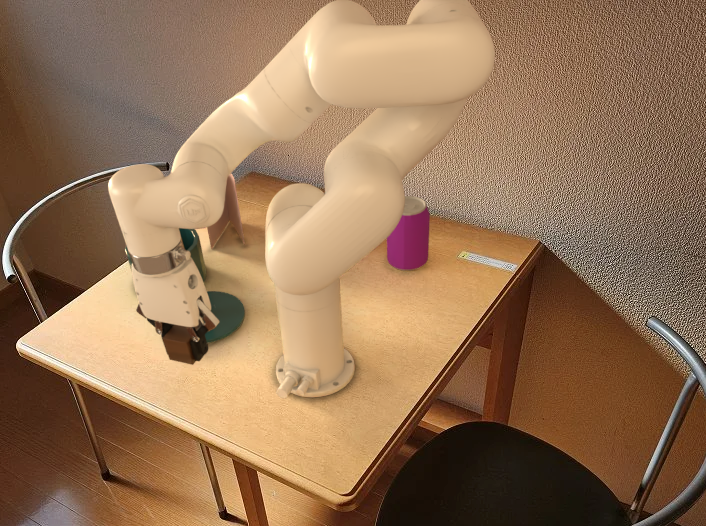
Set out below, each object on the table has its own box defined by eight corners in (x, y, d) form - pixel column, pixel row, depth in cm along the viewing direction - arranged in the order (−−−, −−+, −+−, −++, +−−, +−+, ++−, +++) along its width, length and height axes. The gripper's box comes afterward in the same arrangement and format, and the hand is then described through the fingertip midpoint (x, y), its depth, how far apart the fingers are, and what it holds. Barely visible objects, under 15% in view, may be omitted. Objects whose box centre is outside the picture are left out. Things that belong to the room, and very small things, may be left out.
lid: (220, 354, 124) (213, 322, 119) (148, 336, 129) (139, 306, 125) (259, 304, 133) (254, 273, 128) (191, 290, 138) (184, 260, 134)
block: (193, 365, 113) (186, 343, 110) (169, 359, 115) (162, 338, 112) (207, 347, 116) (201, 325, 113) (183, 342, 118) (177, 320, 115)
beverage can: (383, 271, 137) (382, 214, 129) (391, 249, 142) (391, 192, 134) (424, 275, 134) (426, 217, 126) (431, 252, 140) (433, 195, 132)
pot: (183, 307, 135) (173, 268, 129) (122, 294, 140) (110, 256, 134) (219, 267, 143) (211, 229, 138) (160, 256, 148) (151, 218, 143)
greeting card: (225, 220, 156) (214, 153, 146) (258, 221, 154) (249, 154, 144) (207, 249, 149) (193, 181, 138) (242, 251, 147) (230, 182, 136)
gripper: (222, 246, 102) (246, 347, 114) (124, 233, 109) (156, 329, 121) (195, 277, 97) (222, 378, 109) (94, 261, 104) (131, 358, 116)
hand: (187, 351), depth 115 cm, fingers closed on block, 4 cm apart
